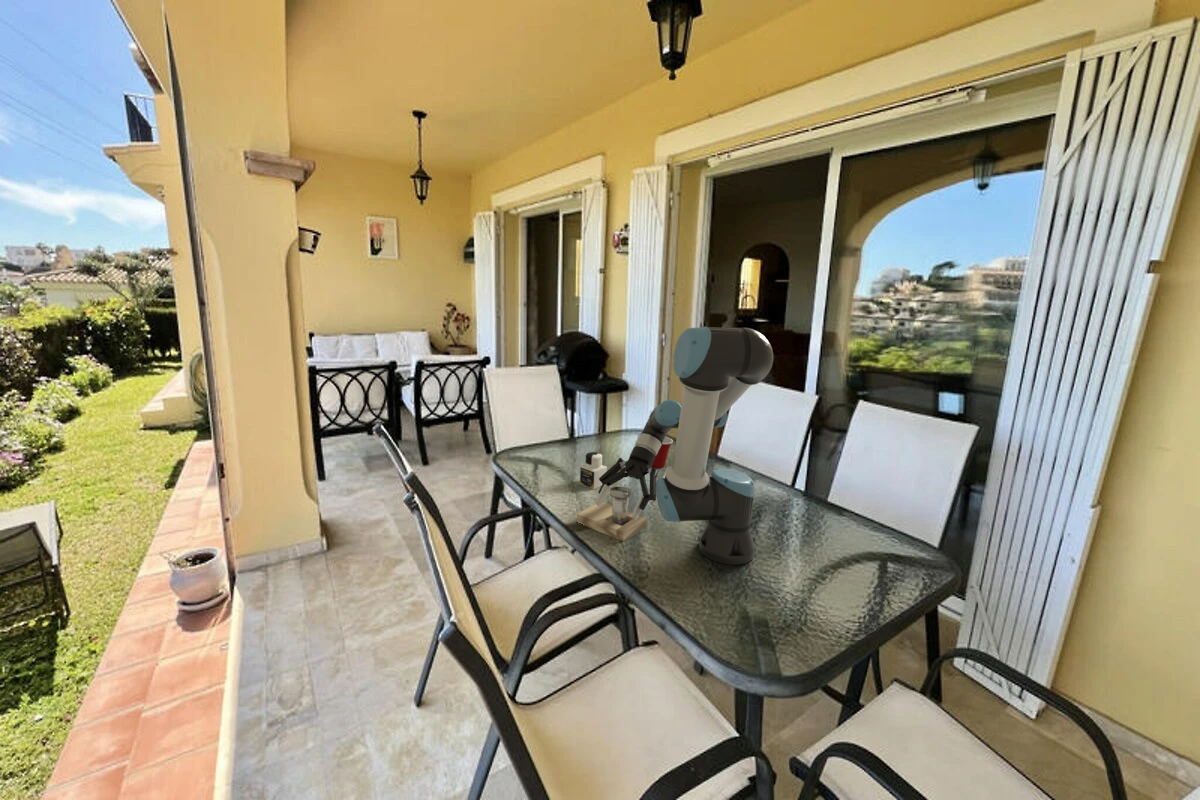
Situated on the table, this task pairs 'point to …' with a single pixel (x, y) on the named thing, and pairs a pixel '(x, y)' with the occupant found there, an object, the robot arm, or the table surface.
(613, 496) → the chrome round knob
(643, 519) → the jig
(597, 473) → the medicine bottle
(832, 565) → the table surface
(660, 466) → the plastic cup
